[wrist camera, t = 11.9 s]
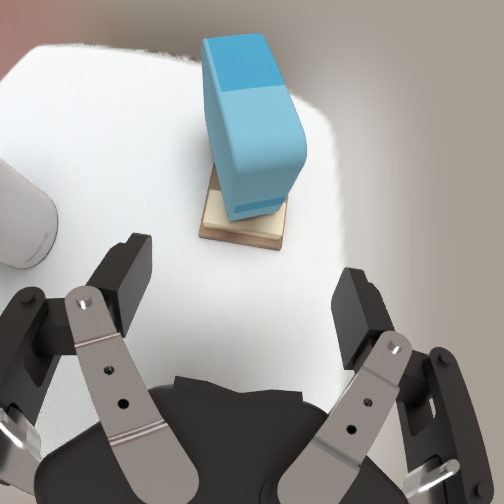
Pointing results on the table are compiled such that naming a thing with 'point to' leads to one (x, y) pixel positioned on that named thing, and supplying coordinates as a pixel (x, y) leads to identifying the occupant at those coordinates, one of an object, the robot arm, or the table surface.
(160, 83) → the table surface
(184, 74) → the table surface
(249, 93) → the data package
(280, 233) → the display stand
